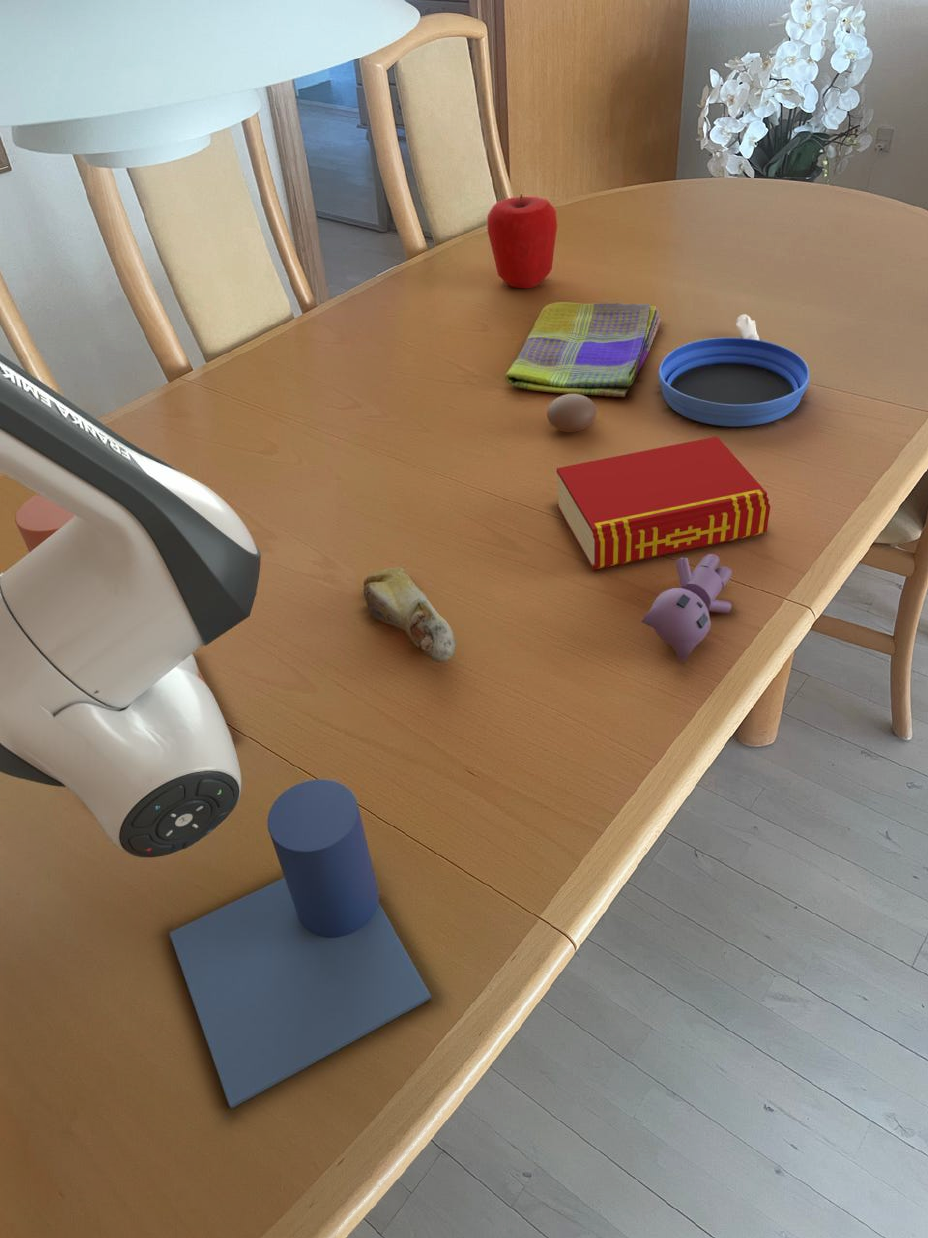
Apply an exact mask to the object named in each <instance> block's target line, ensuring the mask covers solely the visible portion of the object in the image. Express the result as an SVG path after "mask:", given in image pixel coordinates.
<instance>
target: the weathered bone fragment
mask: <svg viewBox="0 0 928 1238" xmlns="http://www.w3.org/2000/svg"><path fill="white" fill-rule="evenodd" d="M363 586H364V587H363V596H364V600H365V602H366V606H367V608H368V612H369V614H370V615H371V617H372V618H373V619H375V620H377V621H380V622H381V623H383V624H385V625H388V626H389V625H390V626H393V627H396V628H397V629H401V630H404V631H405V634H406V635H407V636H408V637H409V638H410V640H411V642H412V643H413V644H414V645H415V646H416V647H417V648H418V649H422V650H423V651H424V652H425V654H426V656H427V657H428V658H430V659H431V660H432V661H434V662H435V663H444V662H448V661H449V660H450V659H451V658H452V657H453V655H454V653H455V652H456V649H457V648H456V647H457V642H456V638H455V635H454V632H453V630H452V627H451V626H450V624H449V623H448V622H447V620H446V619H445V618H444V617H442V616H441V614H439V613H438V612H437V611H436V609H435V607H434V606H433V604H432V603H431V602H430V601H429V598H428V597H427V595H426V594H425V593H424V592H423V591H422V590H421V589H420V588H419V587H418V586H417V585H416V584H415V582H413V580H412V579H411V577H410V576H409V574H408V573H407V571H406V570H405V569H404V568H403V567H400V566H399V567H397V566H396V567H390V568H386V569H385V568H384V569H383V570H379V571H377V572H373V573H371V574H370V575H368V576H367V577H365V578H364V581H363Z"/></svg>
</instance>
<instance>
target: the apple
mask: <svg viewBox="0 0 928 1238" xmlns="http://www.w3.org/2000/svg"><path fill="white" fill-rule="evenodd" d="M486 220H487V225H486V226H487V227H486V230H487V234H488V239H489V243H490V246H491V251H492V255H493V259H494V260H493V261H494V263H495V268H496V272H497V276H498V277H499V278H500V279H501V280H502V281H503V282H504V283H505V284H506V285H508V286H509V287H511V288H515V289H531V288H535V287H537V286H538V285H540V284H541V283H542V282H543V281H544V280H545V279H546V278H547V277H548V275H550V273H551V271H552V269H553V261H554V254H555V253H554V252H555V245H556V237H557V231H558V221H557V211H556V209H555V207H554V206H553V204H551V203H550V201H549V200H547V199H546V198H543V197H537V196H523V194H522V193H521V194H520V196H518V197H509V198H503V199H501V200H499V201H496V202H495V203H494V205H492V207H491V209H490V211H489V212H488V214H487V219H486Z"/></svg>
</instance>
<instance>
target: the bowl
mask: <svg viewBox="0 0 928 1238" xmlns="http://www.w3.org/2000/svg"><path fill="white" fill-rule="evenodd" d="M658 380H659V385H660V388H661V390H662V391H661V392H662V397H663V399H664V401H665V402H666V404H667V405H668V407H670V408H671V409H672V410H673V411H675V413H677V414H679V415H681V416H682V417H685V418H687V419H689V420H692V421H695V422H699V423H703V424H707V425H712V426H720V427H734V428H735V427H737V428H739V427H753V426H758V425H765V424H768V423H772V422H775V421H777V420H780V419H782V418H784V417H786V416H788V415H789V414H791V413H792V412H793V411H794V410H795V409H796V408H797V407H798V406H799V404H800V403H801V400H802V396H803V395H805V392H806V390H807V388H808V385H809V382H810V368H809V366H808V363H807V362H806V361H805V359H804V358H802V357H801V356H800V355H799V354H798V353H796V352H795V351H794V350H793V351H792V350H791V349H789V348H787V347H784V346H782V345H780V344H777V343H772V342H769V341H765V340H760V339H759V340H755V339H747V338H743V337H713V338H706V339H700V340H695V341H691V342H689V343H685V344H684V345H680V346H678V347H677V348H675V349H673V350H671V351H670V352H669V353H668V354H667V355H665V357H664V358H663V359H662V361H661V363H660V365H659V369H658Z"/></svg>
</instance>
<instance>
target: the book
mask: <svg viewBox="0 0 928 1238" xmlns="http://www.w3.org/2000/svg"><path fill="white" fill-rule="evenodd" d="M556 473H557V492H558V493H557V495H558V497H557V498H558V503H556V505H557V506H556V507H557V509H558V511H559V513H560V514H561V517H562V518H563V520H564V522H565V524H566V525H567V527H568V529H569V530H570V532H571V534H572V536H573V537H574V539H575V541H576V543H577V545H578V546H579V548H580V550H581V552H582V554H583V555H584V557H585V559H586V561H587V562H588V565H589V566H590V568H591V570H592V571H594V570H599V569H605V568H610V567H612V566H613V567H614V566H618V565H623V564H629V563H632V562H638V561H642V560H647V559H650V558H652V559H653V558H655V557H660V556H665V555H669V554H674V553H679V552H683V551H689V550H693V549H699V548H702V547H703V548H704V547H708V546H712V545H717V544H721V543H726V542H732V541H735V540H736V541H737V540H740V539H744V538H749V537H755V536H759V535H762V534H764V533H767V532H768V525H769V518H770V512H771V505H770V504H769V501H770V499H769V498H768V492H767V491H766V490H765V489H764V488H763V486H762V485H760V482H758V481H757V480H756V479H755V478H754V476H753V475H752V474H751V473H750V472H749V471H748V469H747V468H746V467H745V466H744V465H743V463H741V461H740V460H739V459H738V458H737V457H736V456H735V455H734V454H733V452H732V451H731V450H730V449H729V448H728V447H727V445H726V444H724V442H723V441H722V440H721V439H720V438H719V437H718V436H712V437H706V438H702V439H697V440H692V441H687V442H681V443H676V444H672V445H667V446H661V447H656V448H652V449H646V450H641V451H637V452H631V453H627V454H622V455H621V454H620V455H615V456H611V457H606V458H601V459H596V460H590V461H586V462H581V463H576V464H571V465H566V466H560V467H557V468H556Z"/></svg>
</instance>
